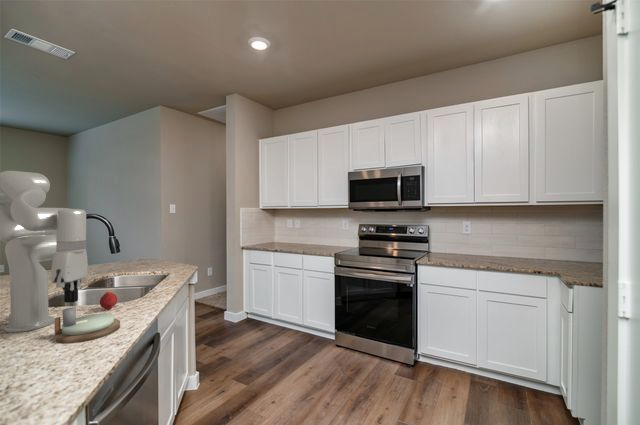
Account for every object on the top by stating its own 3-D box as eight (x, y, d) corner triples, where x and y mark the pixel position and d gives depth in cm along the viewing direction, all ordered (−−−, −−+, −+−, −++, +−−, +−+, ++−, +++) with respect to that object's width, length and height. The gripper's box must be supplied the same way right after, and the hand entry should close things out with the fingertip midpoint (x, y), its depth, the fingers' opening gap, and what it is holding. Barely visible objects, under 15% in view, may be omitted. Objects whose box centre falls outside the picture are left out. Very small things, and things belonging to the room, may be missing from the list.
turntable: (108, 316, 108) (108, 297, 108) (119, 325, 99) (118, 304, 99) (59, 327, 98) (58, 306, 98) (65, 339, 89) (65, 315, 89)
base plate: (39, 342, 91) (39, 321, 91) (89, 321, 108) (88, 303, 108) (89, 344, 89) (89, 322, 89) (132, 323, 106) (131, 304, 106)
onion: (108, 312, 117) (107, 292, 117) (96, 312, 118) (95, 292, 118) (120, 308, 123) (120, 288, 123) (109, 307, 124) (108, 288, 124)
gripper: (77, 243, 105) (76, 295, 106) (39, 249, 90) (39, 309, 91) (98, 243, 106) (98, 295, 106) (65, 249, 91) (64, 309, 91)
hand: (71, 301), depth 98 cm, fingers closed
